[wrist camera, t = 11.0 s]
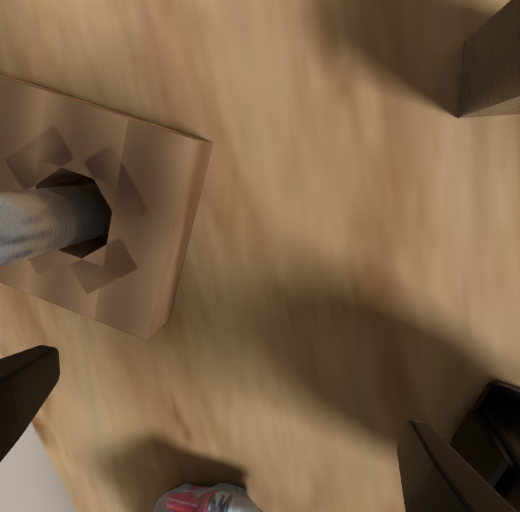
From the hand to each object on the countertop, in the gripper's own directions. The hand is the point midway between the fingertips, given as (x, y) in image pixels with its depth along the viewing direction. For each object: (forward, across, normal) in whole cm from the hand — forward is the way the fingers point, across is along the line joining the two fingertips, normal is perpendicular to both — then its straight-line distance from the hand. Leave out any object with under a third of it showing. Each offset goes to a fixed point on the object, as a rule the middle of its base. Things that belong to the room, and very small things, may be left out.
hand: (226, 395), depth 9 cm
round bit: (+14, +11, 0) cm, 18 cm away
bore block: (+14, +11, 0) cm, 18 cm away
